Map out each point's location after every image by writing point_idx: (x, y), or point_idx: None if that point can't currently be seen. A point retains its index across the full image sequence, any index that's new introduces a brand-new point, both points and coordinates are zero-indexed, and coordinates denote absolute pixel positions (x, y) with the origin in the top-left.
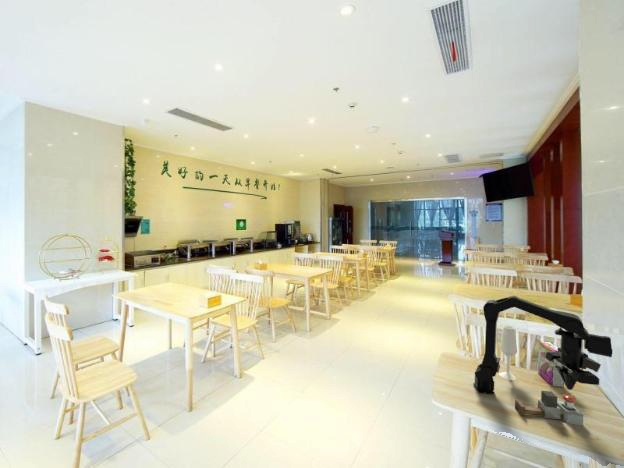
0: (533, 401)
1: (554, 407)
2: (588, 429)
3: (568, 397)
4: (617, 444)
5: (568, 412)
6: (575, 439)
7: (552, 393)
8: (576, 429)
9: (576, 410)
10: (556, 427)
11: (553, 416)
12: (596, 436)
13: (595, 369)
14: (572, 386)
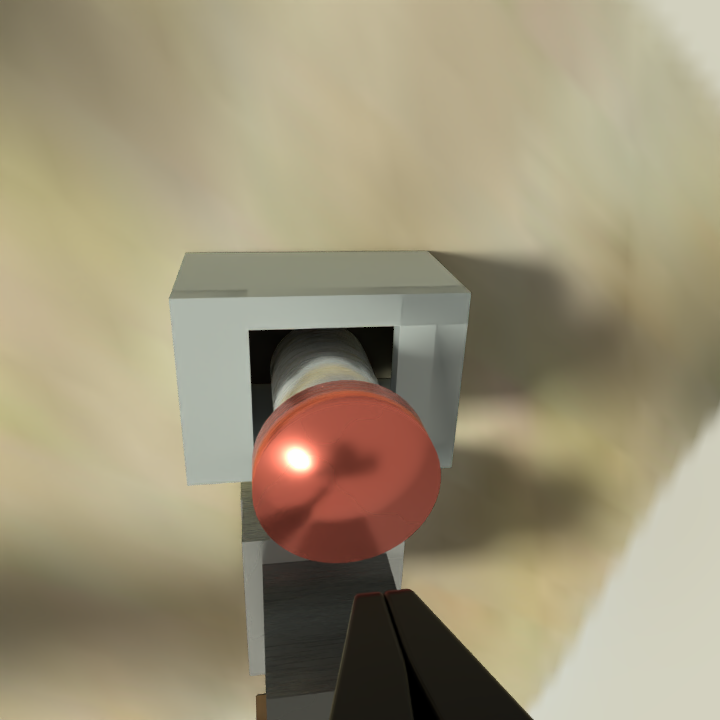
0: (56, 538)
1: (394, 580)
2: (492, 240)
3: (365, 503)
4: (707, 98)
5: (447, 457)
6: (625, 453)
7: (327, 703)
8: (500, 366)
9: (379, 324)
10: (485, 519)
11: None
12: (593, 236)
13: None
14: (472, 681)
